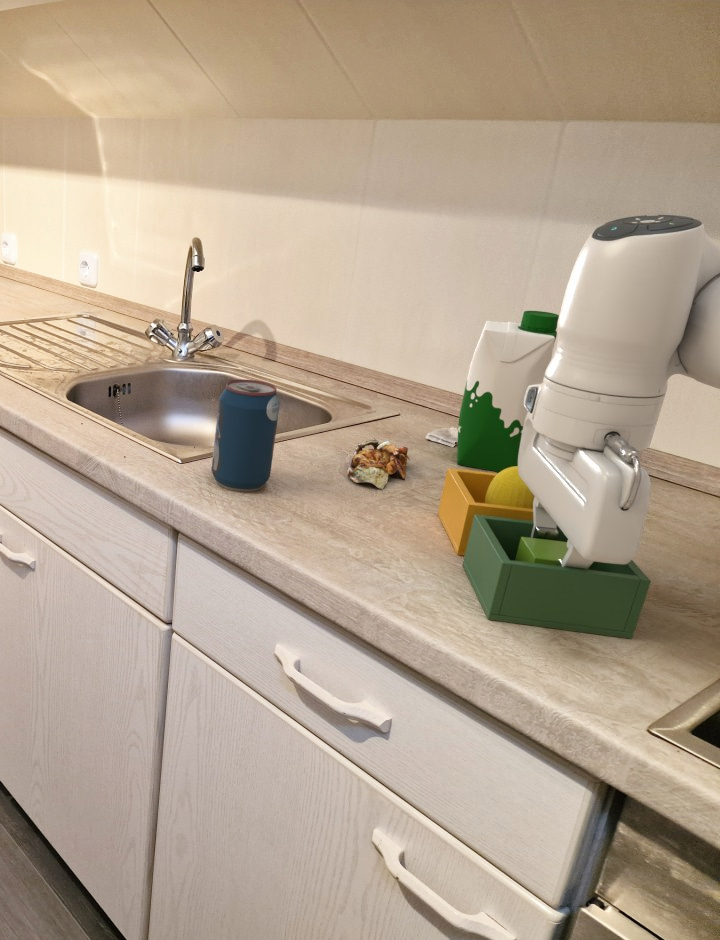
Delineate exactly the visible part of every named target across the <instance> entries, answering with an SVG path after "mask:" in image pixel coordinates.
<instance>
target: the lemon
mask: <svg viewBox="0 0 720 940" xmlns="http://www.w3.org/2000/svg"><path fill="white" fill-rule="evenodd" d="M497 473H498V474H497V475H496V476H495V477H494V478H493V480H492V482H491V483H490V485H489V488H488V490H487V493H486V497H485V504H494V505H502V506H511V507H520V508H529V509H533V501H534V497H535V496H534V495H533V493H532V492H531V491H530V490H529V488H528V487H527V486H526V484H525V483H524V482H523V481H522V479H521V478H520V477H519V474H518V466H514V467H509V468H506V469H504V470H502V471H501V472H497Z"/></svg>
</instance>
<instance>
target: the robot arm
mask: <svg viewBox="0 0 720 940" xmlns="http://www.w3.org/2000/svg"><path fill="white" fill-rule="evenodd" d="M560 307H561V308H560V310H559V314H558V315H559V318H558V323H557V328H556V331H557V342H556V343H557V344H556V348H555V351H554V353H553V355H552V358H551V361H550V363H549V365H548V366H547V368H546V371H545V375H544V379H543V383H541V384H535V385H530V386H528V388H527V390H526V393H525V398H524V407H525V408H526V409H527V410H528V413H527V415H526V417H525V421H524V425H523V431H522V436H521V442H520V448H519V454H518V474H519V477H520V478H521V479H522V481H523V482H524V483H525V484H526V486H527V487H528V488H529V490H530V491H531V492H532V493H533V495H534V496H535V497H534V501H533V523H534V525H533V529H532V533H531V538H536V539H545V540H553V541H556V540H557V537H558V534H559V532H558V531H557V529H556V528H557V525H558V527H559V528H560V529H561V531H562V532H563V533H564V534H565V536H566V537H567V538H568V541H567V548H569V549H568V551H567V553H566V555H565V557H564V559H559V560H558V563H557V566H562V567H570V568H578V569H588V568H589V566H590V565H591V564H592V563H593V562H594V561H595V562H602V563H611V564H628V563H629V562H630V561H631V560H634V558H635V557H636V556H637V554H638V552H639V549H640V545H641V541H642V538H643V537H642V536H643V533H644V529H645V525H646V520H647V517H648V511H649V508H650V507H649V506H650V500H651V493H652V492H651V491H652V482H651V478H650V475H649V473H648V472H647V470H646V469H645V468H644V467H642V466H641V459H642V455H641V452H642V451H644V450H647V449H648V448H649V447H650V446H651V444H652V440H653V437H654V433H655V430H656V427H657V423H658V421H659V417H660V414H661V410H662V407H663V404H664V400H665V398H666V394H667V392H668V391H667V390H668V385H669V382H668V381H669V379H670V378H671V377H672V376H674V375H682V376H685V377H688V378H691V379H693V380H694V381H696V382H699V383H701V384H702V385H706V386H709V387H711V388H715V389H718V390H720V245H719V244H718V243H716V241H714V240H713V239H712V238H711V237H710V236H709V235H708V234H707V232H706V229H705V224H704V223H703V222H702V221H701V220H699V219H696V218H693V217H690V216H685V215H674V214H657V215H647V214H646V215H645V214H644V215H636V216H635V215H634V216H627V217H621V218H617V219H613V220H610V221H607V222H605V223H604V224H602V225H600V226H598V227H596V228H595V229H594V230H593V231H592V232H591V233H590V234H589V236H588V237H587V239H586V240H585V242H584V244H583V245H582V247H581V249H580V251H579V253H578V255H577V257H576V259H575V262H574V264H573V267H572V269H571V273H570V276H569V278H568V282H567V285H566V288H565V291H564V294H563V298H562V302H561V306H560Z"/></svg>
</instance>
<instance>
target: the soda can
mask: <svg viewBox="0 0 720 940" xmlns="http://www.w3.org/2000/svg"><path fill="white" fill-rule="evenodd" d="M280 407H281V403H280V400H279V396H278V394H277V386H276V385H274V384H272V383H269V382H265V381H262V380H256V379H233V380H229V381H227V382H226V384H225V388H224V390H223V391H222V392H221V394H220V396H219V397H218V408H217V416H216V424H215V432H214V433H215V434H214V443H213V451H212V459H211V469H210V471H211V474H212V476H213V478H214V480H215V482H216V484H217V485H219V487H222V488H224V489H226V490H231V491H235V492H246V493H248V492H256V491H259V490H261V489H262V488H263V487H264V485H266V483H267V482H268V481H269V479H270V477H271V471H272V465H273V456H274V450H275V442H276V437H277V436H276V435H277V428H278V421H279V413H280Z"/></svg>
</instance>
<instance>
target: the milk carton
mask: <svg viewBox="0 0 720 940" xmlns="http://www.w3.org/2000/svg"><path fill="white" fill-rule="evenodd" d="M558 318H559V314H557V313H553V312H550V311H549V312H548V311H541V310H524V311H523V313H522V317H521V321H520V323H518V322H515V321H507V322H505V321H504V322H503V321H497V320H495V321H494V320H486V321H485V323H484V326H483V328H482V331H481V334H480V336H479V339H478V341H477V344H476V347H475V349H474V353H473V355H472V359H471V362H470V364H469V368H468V372H467V378H466V382H465V387H464V391H463V396H462V400H461V405H460V410H459V415H458V424H457V453H456V454H457V460H456V461H457V462H456V465H458V466H463V467H469V468H474V469H480V470H484V471H489V472H490V471H491V472H495V473H499V472H501V471H502V470H504V469H506V468H509V467H514V466H518V454H519V448H520V442H521V436H522V431H523V425H524V421H525V417H526V415H527V413H528V410H527V409H526V408H525V407H524V398H525V393H526V390H527V388H528V386H530V385H535V384H541V383H543V379H544V375H545V371H546V368H547V366H548V365H549V363H550V361H551V360H552V358H553V352H554V348H555V343H556V339H557V337H558V332H557V323H558Z"/></svg>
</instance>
